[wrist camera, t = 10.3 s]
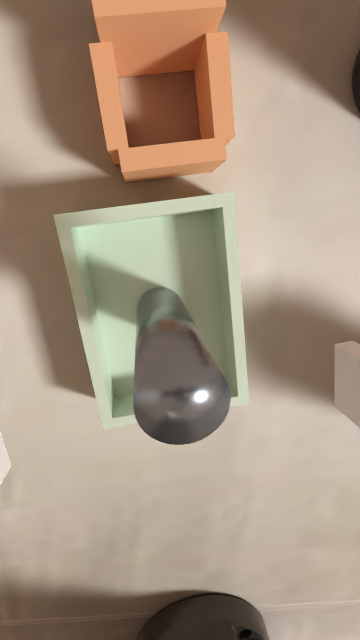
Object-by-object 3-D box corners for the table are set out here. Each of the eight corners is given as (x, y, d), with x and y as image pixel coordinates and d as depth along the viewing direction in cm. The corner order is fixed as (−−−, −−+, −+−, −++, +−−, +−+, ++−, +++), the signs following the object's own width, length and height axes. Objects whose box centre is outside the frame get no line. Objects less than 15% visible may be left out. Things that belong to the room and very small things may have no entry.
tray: (235, 380, 27) (249, 403, 23) (108, 402, 26) (103, 429, 23) (219, 197, 23) (234, 191, 19) (68, 217, 22) (53, 214, 18)
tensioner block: (220, 170, 22) (256, 142, 15) (117, 183, 22) (103, 159, 15) (205, -14, 19) (242, -160, 12) (84, -5, 19) (48, -151, 12)
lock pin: (186, 328, 24) (234, 434, 12) (141, 336, 24) (142, 452, 12) (180, 283, 23) (226, 350, 11) (132, 291, 23) (124, 367, 11)
